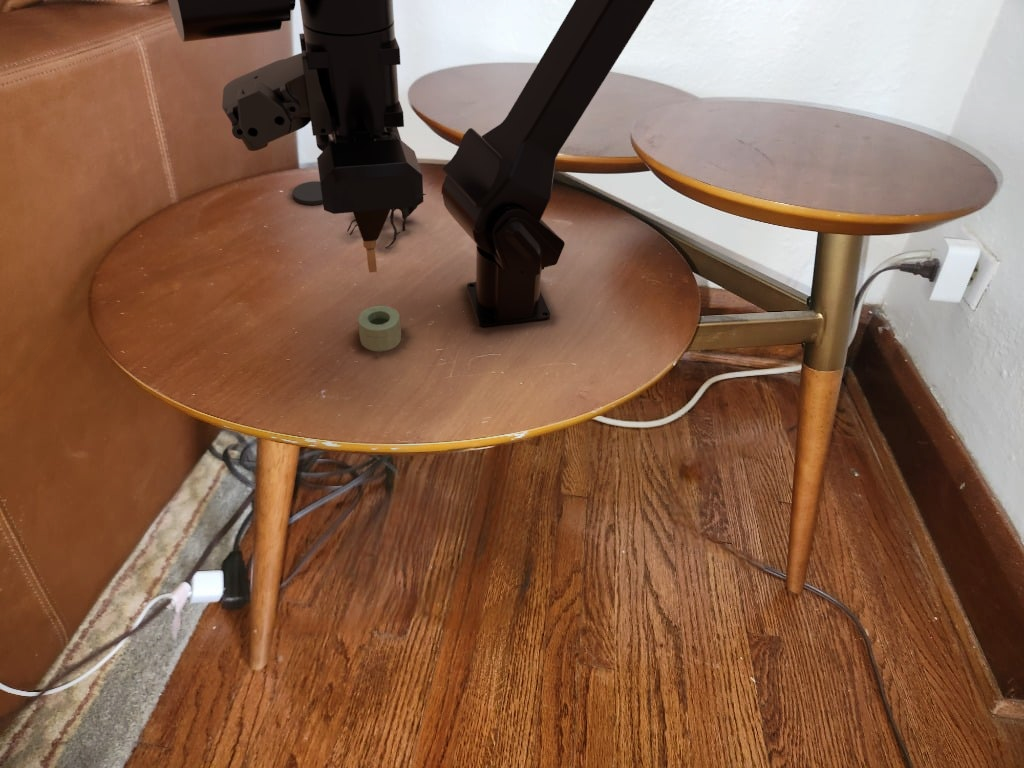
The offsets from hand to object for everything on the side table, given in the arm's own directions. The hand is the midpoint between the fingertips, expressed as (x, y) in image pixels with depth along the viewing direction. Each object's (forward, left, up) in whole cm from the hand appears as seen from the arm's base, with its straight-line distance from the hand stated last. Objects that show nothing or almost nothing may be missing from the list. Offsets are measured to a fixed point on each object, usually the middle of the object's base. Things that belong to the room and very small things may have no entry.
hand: (369, 235), depth 60 cm
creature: (+18, -2, -11) cm, 21 cm away
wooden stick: (0, 0, -3) cm, 3 cm away
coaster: (+26, +4, -10) cm, 29 cm away
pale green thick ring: (0, 0, -10) cm, 10 cm away
